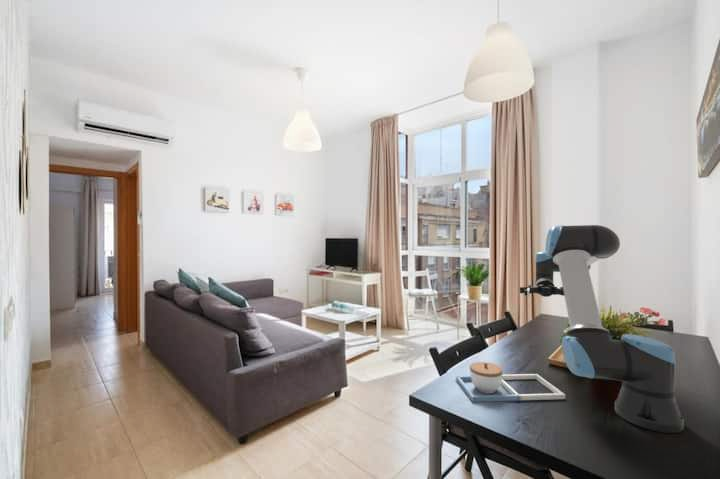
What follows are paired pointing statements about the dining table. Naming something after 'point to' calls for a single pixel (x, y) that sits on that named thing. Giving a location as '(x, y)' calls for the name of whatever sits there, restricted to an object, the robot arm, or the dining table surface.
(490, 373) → the lidded jar
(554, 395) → the white square frame
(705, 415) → the dining table surface
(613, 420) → the dining table surface
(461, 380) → the blue bezel
